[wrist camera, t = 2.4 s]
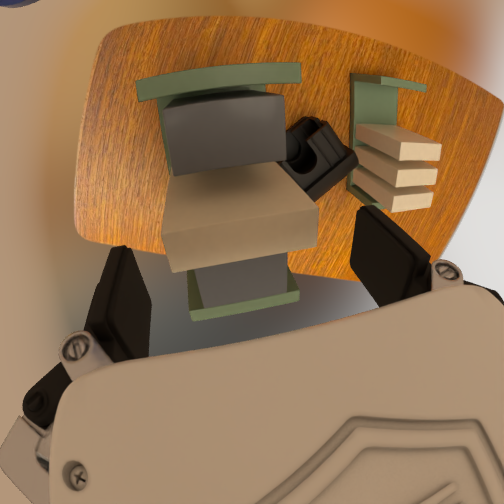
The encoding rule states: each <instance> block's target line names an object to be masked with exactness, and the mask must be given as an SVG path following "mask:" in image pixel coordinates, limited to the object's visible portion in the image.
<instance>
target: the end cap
mask: <svg viewBox="0 0 504 504" xmlns="http://www.w3.org/2000/svg"><path fill="white" fill-rule="evenodd" d="M275 162H276V163H277V164H278V165H279V166H280V167H281V168H282V169H283V170H284V171H285V172H286V173H287V174H288V175H289V176H290V177H291V178H292V179H293V180H294V181H295V182H296V183H297V185H298V186H299V187H300V188H301V189H302V190H303V191H304V192H305V193H306V194H307V195H308V196H309V197H310V198H311V200H312V201H313V202H316V201H317V200H318V199H319V198H320V197H322V196H323V195H324V194H325V193H326V192H327V191H329V190H330V189H331V188H332V187H333V186H335V185H336V184H337V183H338V182H339V181H341V180H342V179H343V178H344V177H345V176H347V175H348V174H349V173H350V172H351V171H352V170H354V169H355V168H356V167H357V166H358V165H359V160H358V157H357V155H356V153H355V151H354V150H352V149H350V148H349V147H347V146H345V145H343V144H342V142H341V141H340V139H339V138H338V136H337V135H336V134H335V132H334V131H333V129H332V128H331V126H330V125H329V123H328V122H327V121H323V120H321V121H320V120H319V119H318V118H316V117H307V116H305V117H303V118H301V119H300V120H299V121H298V122H297V123H295V124H294V125H293V126H292V127H290V128H289V129H288V130H287V131H286V160H285V161H275Z"/></svg>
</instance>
